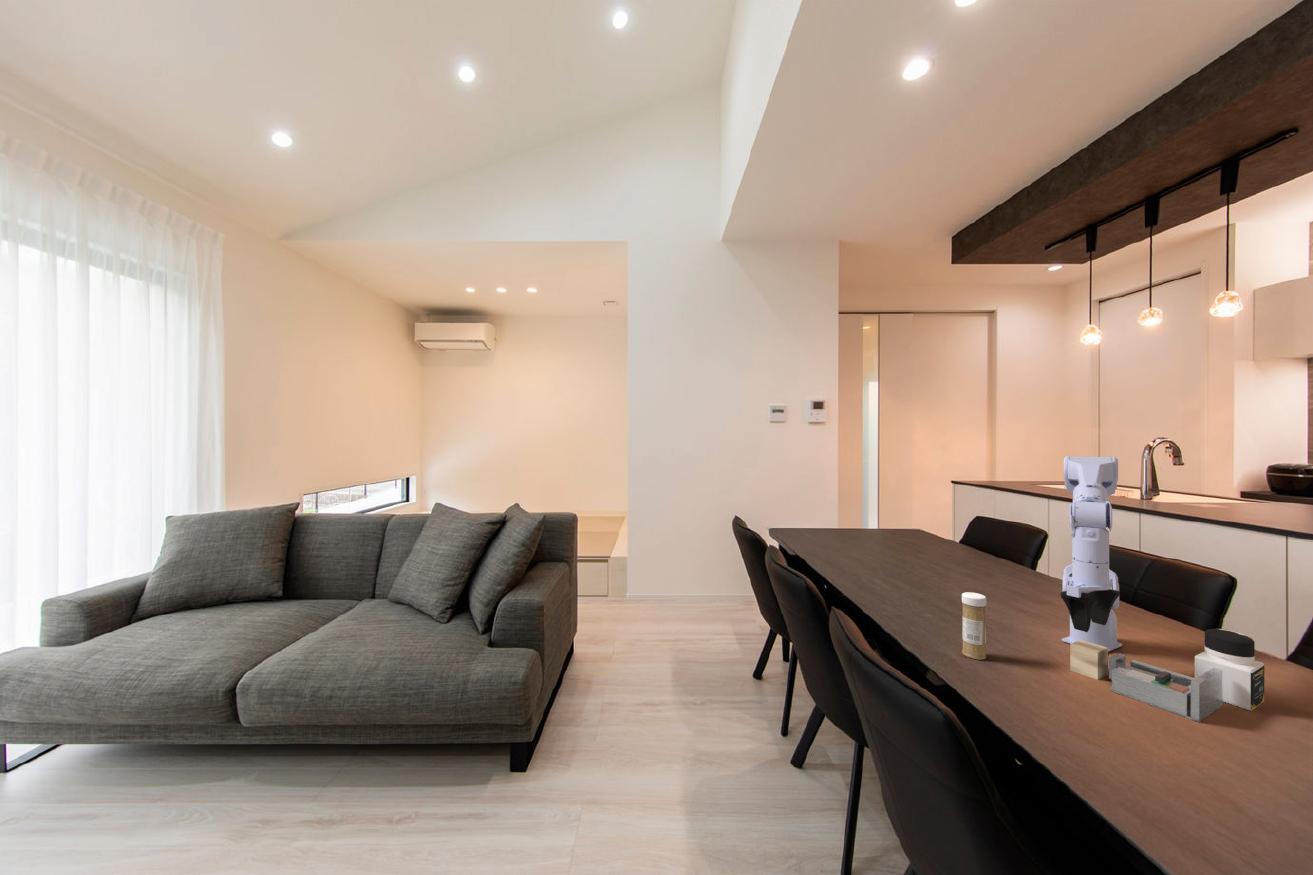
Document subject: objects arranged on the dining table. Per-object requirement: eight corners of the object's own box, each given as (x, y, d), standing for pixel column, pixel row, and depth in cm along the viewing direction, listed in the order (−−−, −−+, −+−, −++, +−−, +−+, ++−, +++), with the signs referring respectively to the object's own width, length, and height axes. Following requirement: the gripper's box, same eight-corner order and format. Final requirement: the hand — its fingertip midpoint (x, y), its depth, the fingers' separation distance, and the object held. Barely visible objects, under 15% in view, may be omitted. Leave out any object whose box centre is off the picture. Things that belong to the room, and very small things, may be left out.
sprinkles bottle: (990, 657, 108) (990, 595, 108) (980, 662, 105) (980, 599, 105) (967, 649, 112) (967, 590, 112) (957, 654, 109) (957, 593, 109)
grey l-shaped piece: (1119, 673, 98) (1119, 651, 98) (1178, 692, 91) (1178, 668, 91) (1101, 681, 95) (1101, 659, 95) (1161, 702, 87) (1161, 677, 87)
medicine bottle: (1252, 711, 86) (1252, 643, 86) (1194, 693, 93) (1193, 629, 93) (1265, 701, 90) (1265, 635, 90) (1208, 684, 96) (1208, 622, 96)
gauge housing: (1137, 678, 98) (1137, 645, 98) (1222, 705, 88) (1222, 669, 88) (1111, 691, 93) (1111, 656, 93) (1199, 722, 83) (1199, 683, 83)
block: (1080, 665, 104) (1080, 639, 104) (1108, 674, 100) (1108, 647, 100) (1070, 670, 102) (1070, 643, 102) (1097, 680, 98) (1097, 652, 98)
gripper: (1083, 552, 108) (1083, 614, 108) (1049, 560, 101) (1048, 626, 101) (1125, 559, 101) (1125, 625, 101) (1091, 568, 95) (1091, 638, 95)
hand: (1090, 626), depth 101 cm, fingers open, 7 cm apart
